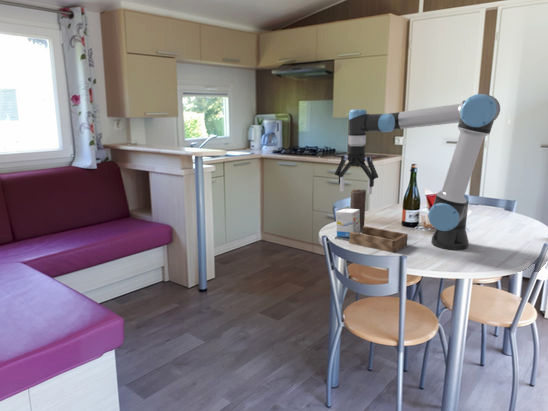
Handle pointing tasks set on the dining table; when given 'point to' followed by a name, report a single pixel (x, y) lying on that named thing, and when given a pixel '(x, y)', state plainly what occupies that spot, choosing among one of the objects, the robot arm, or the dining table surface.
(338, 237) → the slate pad
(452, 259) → the dining table surface
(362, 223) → the candle
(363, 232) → the wooden tray
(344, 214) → the ink box
